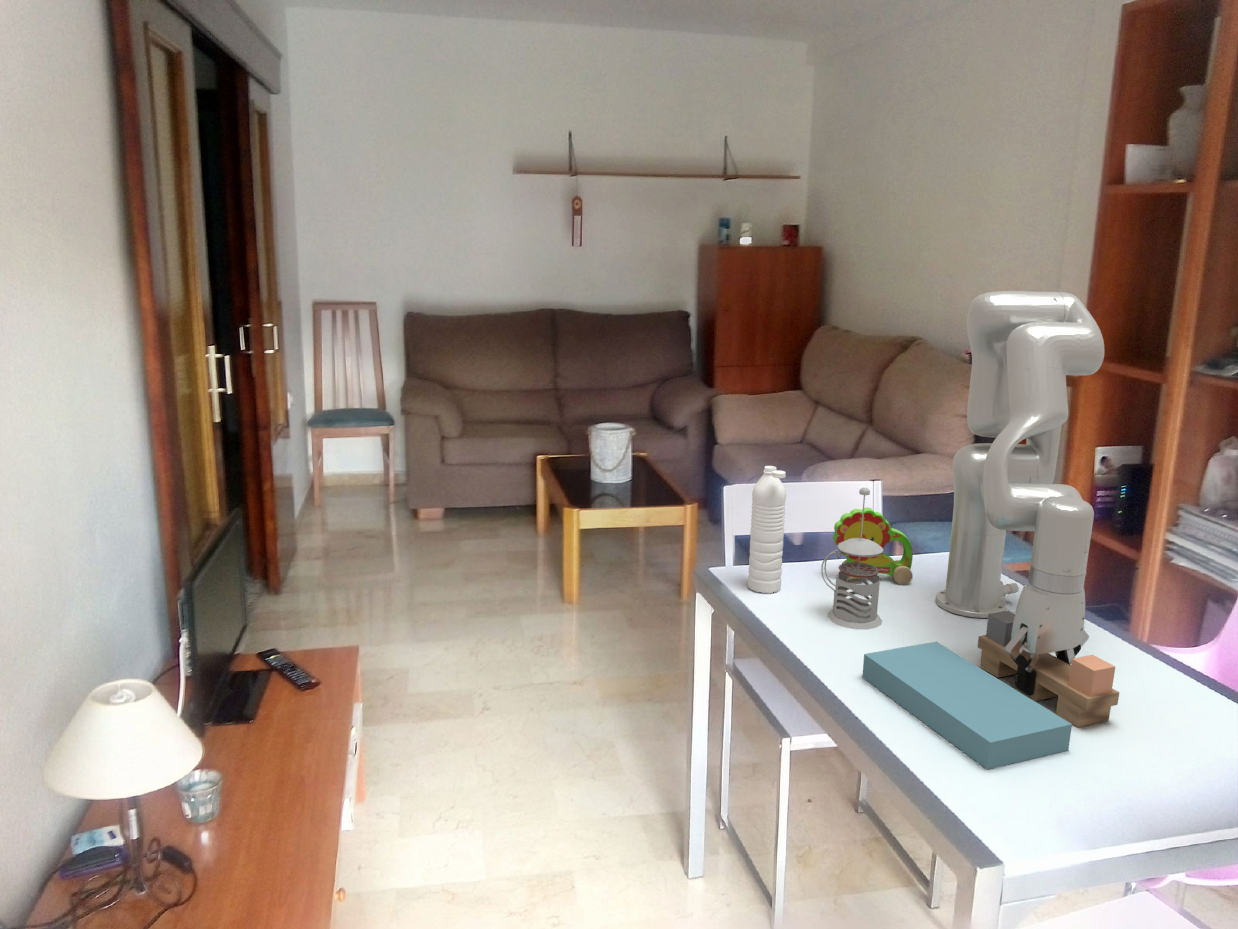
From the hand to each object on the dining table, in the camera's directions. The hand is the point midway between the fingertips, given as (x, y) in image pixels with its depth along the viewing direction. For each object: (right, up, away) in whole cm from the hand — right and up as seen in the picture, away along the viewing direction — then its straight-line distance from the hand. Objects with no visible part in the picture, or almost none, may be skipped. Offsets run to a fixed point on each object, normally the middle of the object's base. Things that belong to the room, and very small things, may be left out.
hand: (1041, 686), depth 144 cm
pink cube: (+3, +2, -9) cm, 9 cm away
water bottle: (-36, +9, +41) cm, 55 cm away
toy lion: (-14, +11, +47) cm, 50 cm away
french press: (-23, +6, +28) cm, 36 cm away
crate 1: (-3, +6, +7) cm, 9 cm away
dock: (-15, -2, -6) cm, 16 cm away
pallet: (0, -1, 0) cm, 1 cm away
